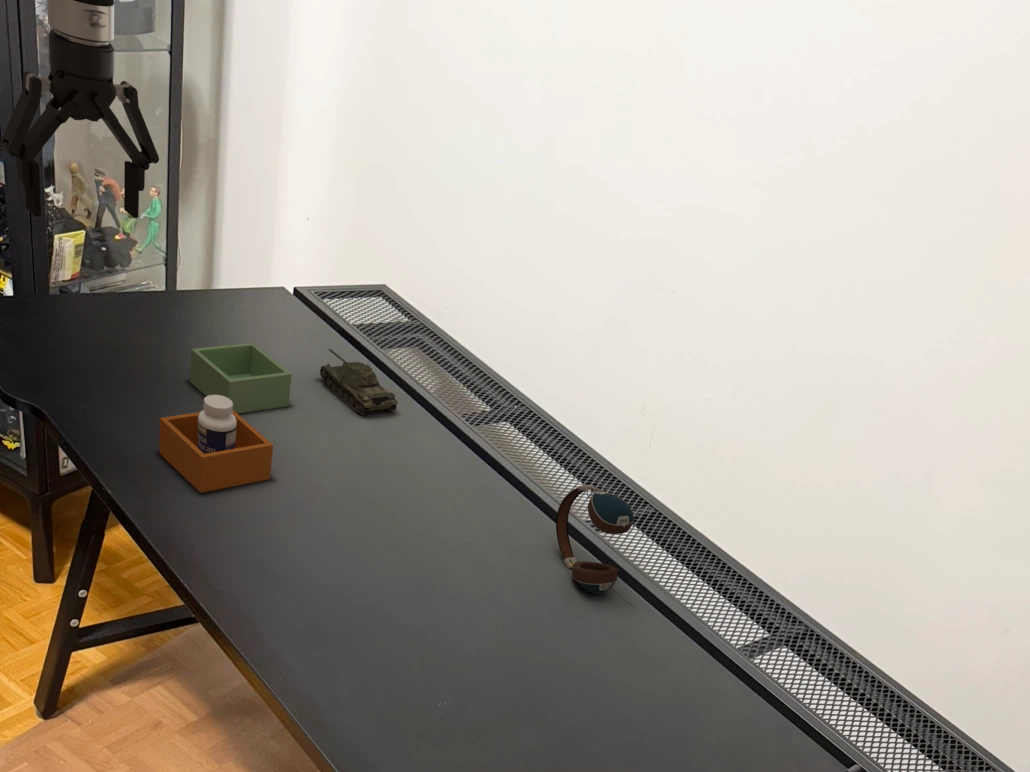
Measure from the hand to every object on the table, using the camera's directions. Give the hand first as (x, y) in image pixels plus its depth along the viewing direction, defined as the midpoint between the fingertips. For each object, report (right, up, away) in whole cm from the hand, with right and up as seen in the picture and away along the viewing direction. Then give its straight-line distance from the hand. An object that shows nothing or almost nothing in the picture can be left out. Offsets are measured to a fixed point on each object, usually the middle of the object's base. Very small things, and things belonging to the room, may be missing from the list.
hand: (83, 213), depth 140 cm
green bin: (+12, -15, +31) cm, 36 cm away
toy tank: (+30, -12, +42) cm, 52 cm away
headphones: (+70, -50, +15) cm, 87 cm away
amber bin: (+14, -32, +12) cm, 37 cm away
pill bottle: (+14, -31, +12) cm, 36 cm away
